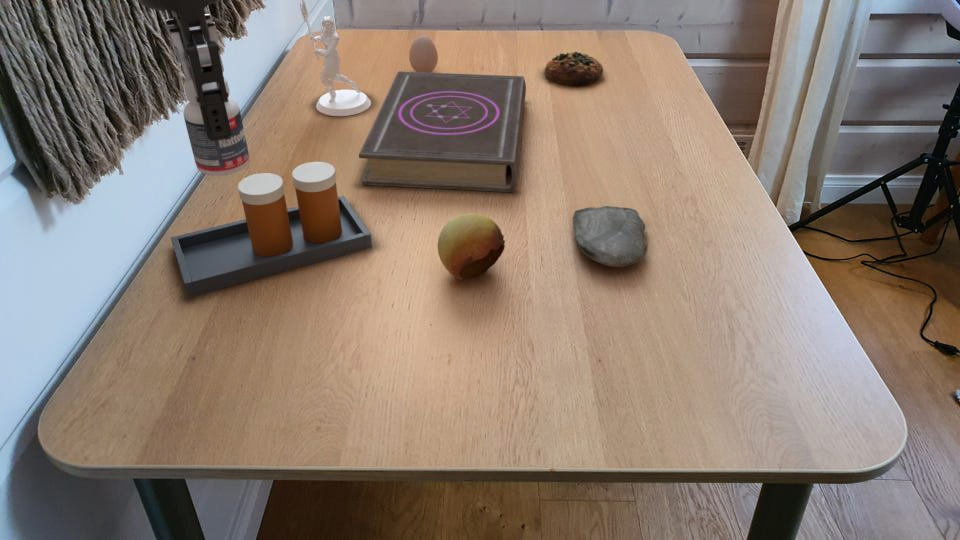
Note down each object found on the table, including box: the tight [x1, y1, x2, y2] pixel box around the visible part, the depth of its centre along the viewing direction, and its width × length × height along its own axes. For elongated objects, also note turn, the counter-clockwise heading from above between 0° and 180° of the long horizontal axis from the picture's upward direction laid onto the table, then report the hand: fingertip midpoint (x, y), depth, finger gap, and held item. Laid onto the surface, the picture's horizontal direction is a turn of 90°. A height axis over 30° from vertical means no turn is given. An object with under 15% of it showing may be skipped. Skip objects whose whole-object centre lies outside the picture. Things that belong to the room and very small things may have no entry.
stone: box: [572, 205, 648, 268], centre depth 93 cm, size 13×9×3 cm
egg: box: [408, 34, 439, 73], centre depth 137 cm, size 5×5×7 cm
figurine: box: [299, 0, 372, 117], centre depth 123 cm, size 10×10×18 cm
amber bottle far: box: [291, 161, 342, 243], centre depth 93 cm, size 5×5×9 cm
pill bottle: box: [183, 76, 250, 177], centre depth 73 cm, size 5×5×9 cm
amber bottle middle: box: [237, 172, 293, 257], centre depth 90 cm, size 5×5×9 cm
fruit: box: [437, 212, 506, 281], centre depth 87 cm, size 8×8×8 cm
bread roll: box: [544, 51, 604, 87], centre depth 138 cm, size 11×11×5 cm
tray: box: [170, 195, 373, 298], centre depth 93 cm, size 23×11×2 cm, turn 117°
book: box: [358, 70, 527, 193], centre depth 116 cm, size 30×22×5 cm
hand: (214, 124), depth 73 cm, fingers closed on pill bottle, 5 cm apart
